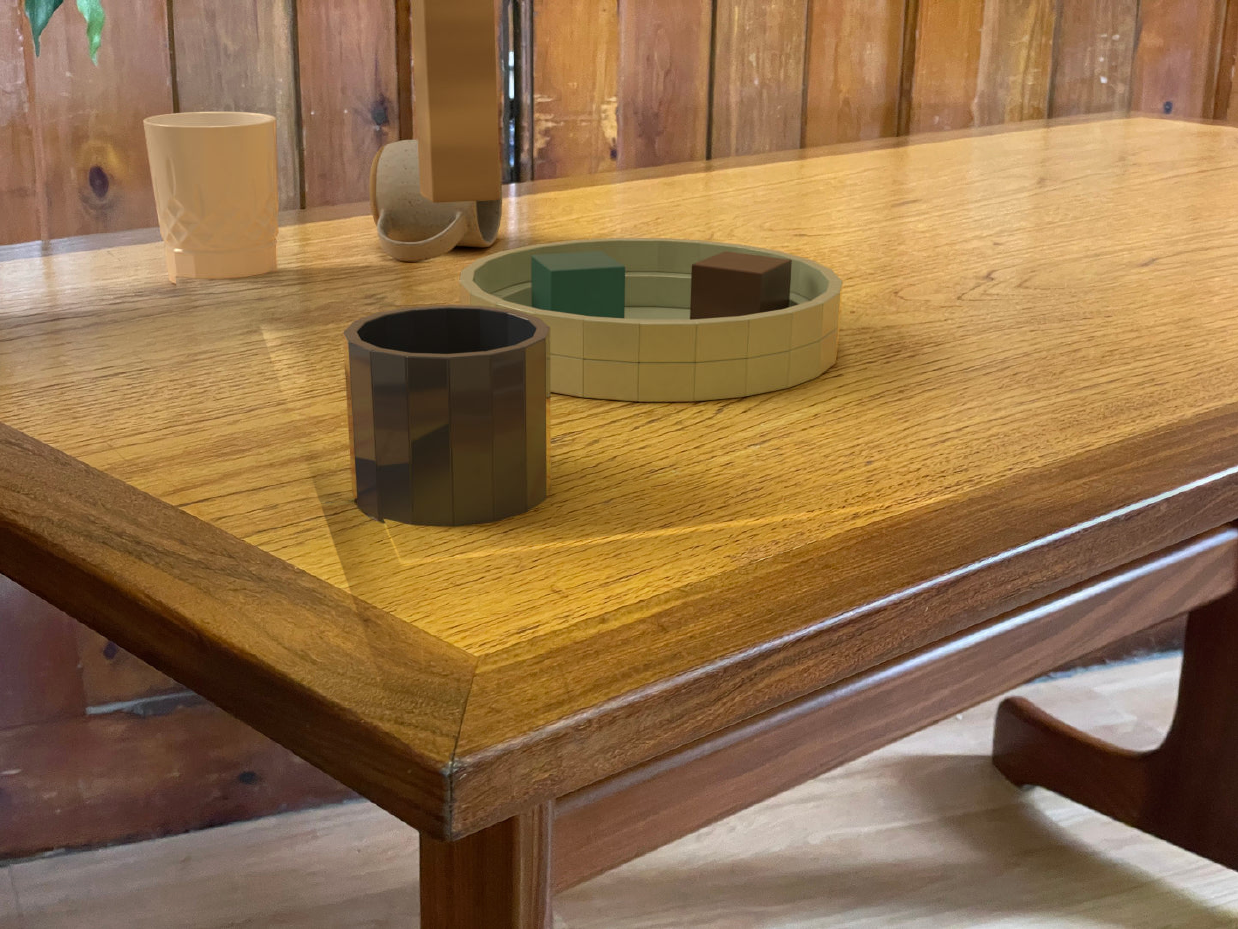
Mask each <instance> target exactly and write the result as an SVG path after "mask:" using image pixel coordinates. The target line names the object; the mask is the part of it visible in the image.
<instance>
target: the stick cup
mask: <svg viewBox="0 0 1238 929" xmlns="http://www.w3.org/2000/svg"><path fill="white" fill-rule="evenodd" d="M342 341H343V342H342V343H343V360H344V375H345V392H346V394H345V395H346V409H347V410H346V412H347V426H348V428H347V429H348V444H349V458H350V459H349V462H350V475H351V479H350V480H351V493H352V495H353V497H354V503H355V506H356V507H357V509H358V510H359V511H360V512H361V513H363V514H364V515H366V516H367V517H368V518H370V519H373V520H374V521H377V522H379V523H382V524H386V521H385V520H388V521H391V522H396V523H401V524H405V525H409V526H417V527H418V526H419V527H421V526H422V527H442V528H443V527H444V528H445V527H447V528H456V527H465V526H466V527H467V526H473V525H484V524H492V523H497V522H499V521H503V520H506V519H510V518H513V517H516V516H520V515H523V514H526V513H528V512H530V511H531V510H533V509H534V508H536V507H537V506H539V505H540V504H542V503H543V502H545V501H546V500H547V499H548V496H549V494H550V490H551V486H552V435H551V434H552V433H551V432H552V429H551V428H552V427H551V426H552V422H551V419H552V417H551V416H552V415H551V414H552V413H551V411H552V408H551V407H552V406H551V401H552V400H551V399H552V398H551V396H552V395H551V393H552V392H551V385H550V327H549V326H548V325H547V324H545V323H544V322H543V321H542V320H541V319H540V318H538V317H535V316H532V315H528V314H525V313H522V312H519V311H515V310H510V309H503V308H496V307H488V306H476V305H460V304H435V305H421V306H420V305H419V306H410V307H409V306H408V307H403V308H402V307H401V308H397V309H396V308H395V309H391V310H385V311H380V312H376V313H373V314H371V315H367V316H365V317H362V318H359V319H356V320H354V321H352V322H351V323H350V324H349V325H348V326H347V327H346V328H345V329H344V330H343V332H342Z"/></svg>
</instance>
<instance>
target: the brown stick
mask: <svg viewBox="0 0 1238 929" xmlns="http://www.w3.org/2000/svg"><path fill="white" fill-rule="evenodd" d="M410 9H411V10H410V11H411V29H412V31H411V33H412V52H413V53H412V55H413V72H414V92H415V95H414V96H415V113H416V115H415V116H416V134H417V135H416V136H417V140H418V158H419V178H420V194H421V195H422V196H424V197H425V198H427V199H429V200H430V201H432V202H434V203H441V202H463V201H486V200H499V199H500V178H499V163H500V149H499V123H498V122H499V119H498V118H499V116H498V114H499V113H498V86H497V85H498V84H497V83H498V81H497V53H496V52H497V51H496V27H495V26H496V23H495V22H496V21H495V17H496V16H495V0H410Z"/></svg>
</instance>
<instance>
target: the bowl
mask: <svg viewBox="0 0 1238 929" xmlns="http://www.w3.org/2000/svg"><path fill="white" fill-rule="evenodd" d="M596 251H602V252H604V253H605V254H607V255H608V256H610V257H611V258H613V259H614V260H616V261H617V262H619V263H620V264H622V265H624V266H625V318H624V319H623V318H607V317H592V316H584V315H577V314H569V313H562V312H555V311H548V310H541V309H537V308H532V292H531V256H532V255H541V254H559V253H577V252H596ZM725 251H727V252H734V253H742V254H750V255H758V256H766V257H774V258H782V259H790V260H792V265H791V282H790V299H789V308H785V309H782V310H775V311H769V312H763V313H757V314H751V315H744V316H736V317H722V318H708V319H694V320H690V302H691V272H692V264H694V263H697V262H699V261H702V260H704V259H707V258H709V257H712V256H714V255H717V254H720V253H722V252H725ZM843 284H844V282H843V280H842V278H840V276H839V275H838V274H837V273H836V272H834V270H833V269H831V268H829V267H827V266H825V265H823V264H821V263H820V262H819V263H818V262H817V261H815V260H812V259H809V258H806V257H803V256H798V255H796V254H791V253H788V252H784V251H780V250H775V249H771V248H770V249H769V248H764V247H760V246H759V247H758V246H753V245H747V244H739V243H730V242H720V241H712V240H703V239H689V238H688V239H685V238H666V237H606V238H605V237H604V238H589V239H588V238H587V239H585V238H584V239H573V240H563V241H554V242H546V243H535V244H531V245H526V246H521V247H516V248H510V249H505V250H500V251H498V252H495V253H491V254H489V255H485V256H483V257H480V258H477V259H476V260H474V261H473V262H471V263H470V264H468V265H467V266H465V267H464V268H463V269H461V271H460V275H459V280H458V291H459V292H458V293H459V296H458V297H459V305H476V306H488V307H496V308H503V309H510V310H515V311H519V312H522V313H525V314H528V315H532V316H535V317H538V318H540V319H541V320H542V321H543V322H544V323H545V324H547V325H548V326H549V327H550V385H551V393H555V394H559V395H565V396H573V397H578V398H586V399H596V400H597V399H598V400H610V401H611V400H612V401H623V402H639V403H657V402H658V403H659V402H662V403H667V402H668V403H671V402H672V403H673V402H674V403H675V402H676V403H678V402H679V403H680V402H682V403H683V402H686V403H687V402H702V401H704V402H705V401H714V400H723V399H724V400H726V399H735V398H737V399H738V398H744V397H751V396H754V395H755V396H756V395H761V394H766V393H770V392H775V391H780V390H785V389H789V388H792V387H795V386H797V385H800V384H803V383H805V382H808V381H812V380H814V379H816V378H819V377H820V376H821V375H823V374H824V373H825V372H827V371H828V370H829V369H830V368H831V367H833V366H834V365H835V364H836V361H837V357H838V352H839V341H840V329H841V328H840V327H841V315H842V314H841V313H842V312H841V311H842V301H843V300H842V298H843Z"/></svg>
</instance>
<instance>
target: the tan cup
mask: <svg viewBox="0 0 1238 929" xmlns="http://www.w3.org/2000/svg"><path fill="white" fill-rule="evenodd" d="M142 125H143V131H144V137H145V143H146V151H147V158H148V165H149V171H150V177H151V179H150V180H151V185H152V191H153V197H154V202H155V208H156V212H157V213H156V214H157V220H158V225H159V232H160V236H161V238H162V241H163V242H164V246H163V247H164V253H165V261H166V267H167V275H168V280H169V281H170V282H171V283H173V284H175V285H177V278H176V277H183V278H189V279H197V280H198V279H200V280H201V279H205V280H207V279H208V280H209V279H211V280H223V279H225V280H226V279H236V278H246V277H247V278H248V277H252V276H257V275H261V274H266V273H268V272H277V271H278V253H277V252H278V251H277V249H278V248H277V243H278V240H277V237H278V235H279V220H278V219H279V182H278V181H279V178H278V176H279V175H278V142H277V141H278V140H277V139H278V138H277V136H278V135H277V134H278V133H277V117H275V116H273V115H272V114H271V115H270V114H265V113H258V112H246V111H188V112H176V113H175V112H174V113H166V114H157V115H152V116H149V117H145V118H144V119H143V120H142Z"/></svg>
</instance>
